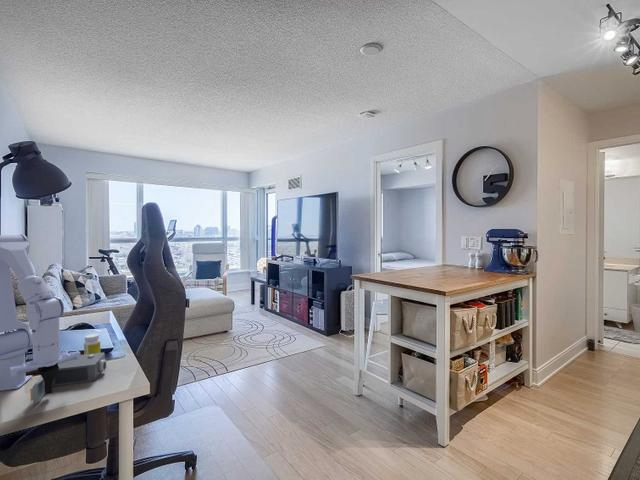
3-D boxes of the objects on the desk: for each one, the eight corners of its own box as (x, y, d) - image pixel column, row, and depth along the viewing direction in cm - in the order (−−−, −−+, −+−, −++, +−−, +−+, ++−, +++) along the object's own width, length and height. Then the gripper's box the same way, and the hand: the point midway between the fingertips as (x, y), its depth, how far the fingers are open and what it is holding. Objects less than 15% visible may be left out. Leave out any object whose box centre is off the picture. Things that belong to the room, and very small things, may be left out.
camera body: (46, 387, 96) (46, 368, 96) (61, 372, 105) (60, 355, 105) (100, 380, 100) (100, 362, 100) (109, 366, 110) (109, 350, 109)
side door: (43, 387, 95) (43, 371, 95) (50, 385, 96) (50, 370, 96) (30, 404, 86) (29, 387, 86) (37, 402, 87) (37, 386, 86)
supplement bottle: (103, 356, 118) (103, 333, 118) (93, 362, 113) (92, 338, 113) (91, 356, 118) (90, 333, 118) (80, 361, 114) (80, 337, 113)
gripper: (12, 355, 81) (15, 409, 82) (83, 339, 92) (84, 387, 93) (7, 348, 85) (10, 399, 86) (75, 334, 97) (77, 379, 97)
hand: (48, 392), depth 90 cm, fingers closed
